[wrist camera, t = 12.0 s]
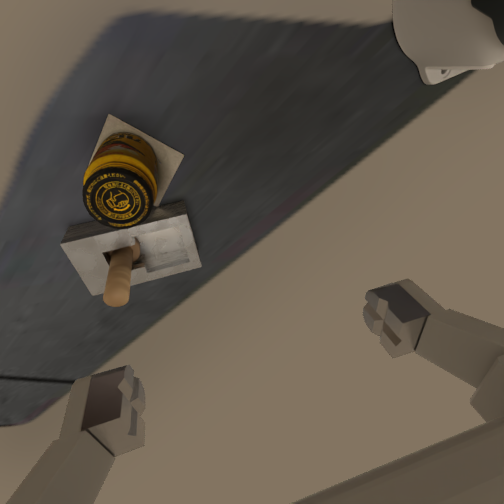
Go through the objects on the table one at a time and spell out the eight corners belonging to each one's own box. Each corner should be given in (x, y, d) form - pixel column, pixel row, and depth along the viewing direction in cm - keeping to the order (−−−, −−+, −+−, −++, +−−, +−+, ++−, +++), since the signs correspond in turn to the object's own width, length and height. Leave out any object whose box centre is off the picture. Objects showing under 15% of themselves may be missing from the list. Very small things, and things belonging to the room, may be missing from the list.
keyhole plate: (183, 200, 37) (186, 214, 34) (198, 250, 42) (201, 266, 38) (68, 226, 35) (60, 244, 31) (97, 276, 39) (92, 295, 36)
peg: (133, 229, 37) (128, 278, 29) (144, 254, 39) (142, 305, 31) (101, 237, 36) (87, 289, 28) (114, 262, 38) (104, 316, 30)
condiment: (108, 113, 30) (87, 141, 20) (184, 154, 34) (196, 194, 24) (84, 174, 32) (56, 225, 23) (157, 205, 36) (159, 259, 27)
